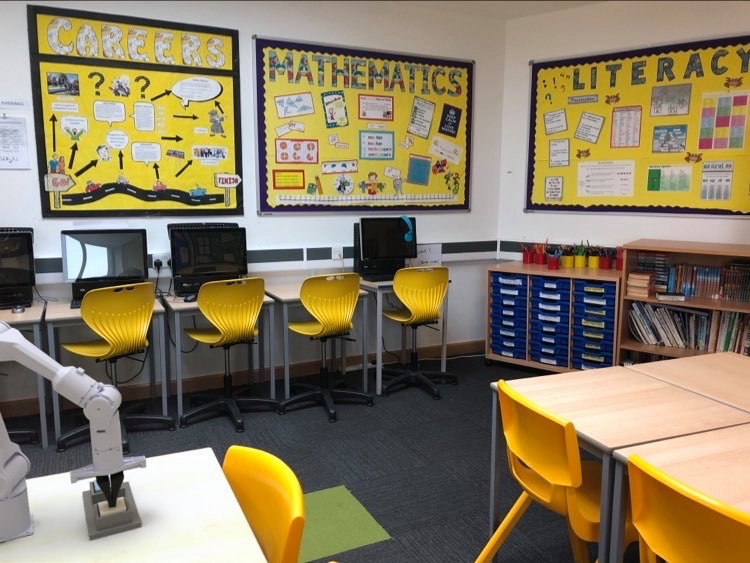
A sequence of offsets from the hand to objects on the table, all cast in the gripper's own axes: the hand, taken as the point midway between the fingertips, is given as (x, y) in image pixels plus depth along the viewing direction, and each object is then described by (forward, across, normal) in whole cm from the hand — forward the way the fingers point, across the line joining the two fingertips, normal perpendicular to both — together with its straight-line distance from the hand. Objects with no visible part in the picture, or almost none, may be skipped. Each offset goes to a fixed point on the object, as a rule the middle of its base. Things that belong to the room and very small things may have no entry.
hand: (112, 505), depth 131 cm
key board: (+4, 0, -6) cm, 7 cm away
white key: (+2, 0, 0) cm, 2 cm away
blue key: (+2, 0, -11) cm, 11 cm away
